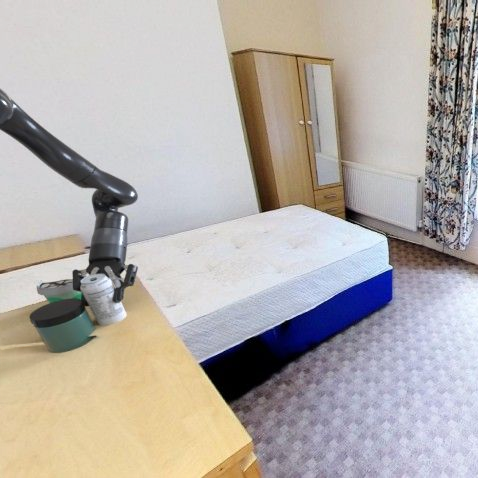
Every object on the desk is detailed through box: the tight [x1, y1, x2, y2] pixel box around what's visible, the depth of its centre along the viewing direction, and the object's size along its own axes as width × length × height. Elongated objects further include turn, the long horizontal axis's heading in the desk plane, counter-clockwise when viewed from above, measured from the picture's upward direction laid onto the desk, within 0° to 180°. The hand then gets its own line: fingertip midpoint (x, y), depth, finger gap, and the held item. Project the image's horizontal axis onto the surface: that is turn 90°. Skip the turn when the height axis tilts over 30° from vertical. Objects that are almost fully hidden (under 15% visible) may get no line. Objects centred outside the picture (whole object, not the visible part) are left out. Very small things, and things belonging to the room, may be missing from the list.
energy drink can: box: [80, 274, 128, 327], centre depth 88 cm, size 6×6×15 cm
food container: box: [36, 275, 89, 304], centre depth 93 cm, size 12×6×10 cm, turn 106°
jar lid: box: [28, 298, 86, 327], centre depth 81 cm, size 9×9×2 cm
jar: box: [33, 307, 96, 354], centre depth 83 cm, size 9×9×10 cm
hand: (102, 303), depth 87 cm, fingers closed on energy drink can, 6 cm apart
